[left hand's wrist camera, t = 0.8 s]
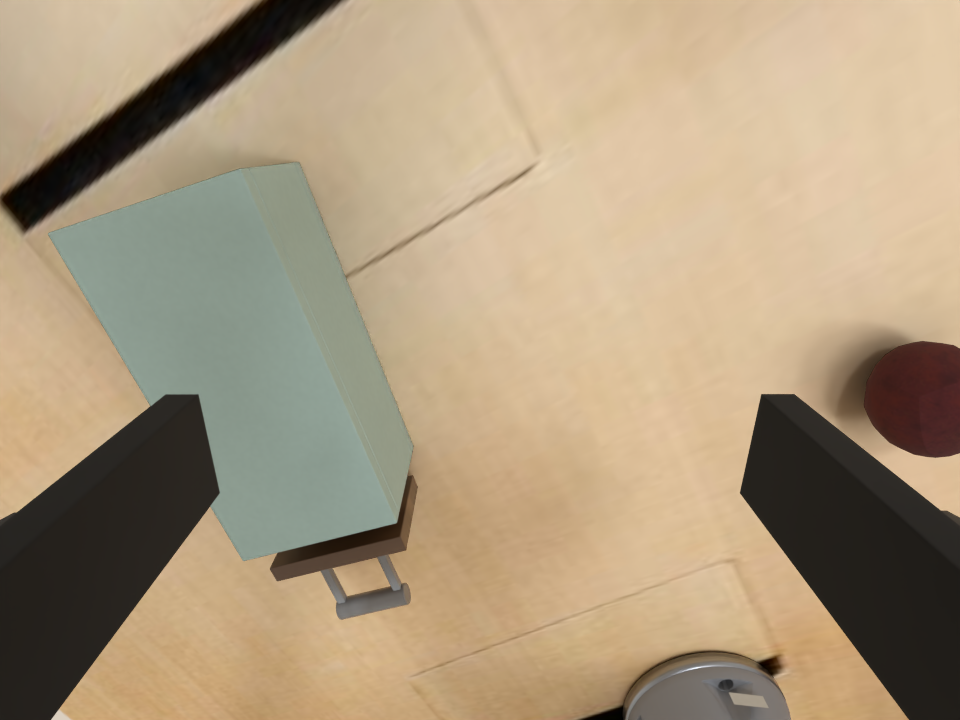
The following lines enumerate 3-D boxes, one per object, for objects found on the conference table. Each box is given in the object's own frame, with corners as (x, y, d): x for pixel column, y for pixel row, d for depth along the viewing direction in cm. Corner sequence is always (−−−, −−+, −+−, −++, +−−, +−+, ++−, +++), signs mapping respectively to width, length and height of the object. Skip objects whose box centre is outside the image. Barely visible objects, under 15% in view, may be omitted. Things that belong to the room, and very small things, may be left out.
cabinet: (413, 446, 42) (397, 523, 33) (289, 479, 43) (242, 561, 34) (299, 161, 34) (239, 168, 25) (150, 211, 35) (46, 233, 27)
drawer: (441, 544, 44) (435, 614, 38) (336, 570, 45) (311, 642, 39) (313, 233, 35) (274, 255, 28) (183, 274, 36) (116, 304, 29)
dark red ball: (853, 437, 41) (923, 493, 35) (829, 354, 39) (900, 397, 32) (953, 398, 40) (1045, 448, 33) (935, 309, 37) (1032, 344, 31)
